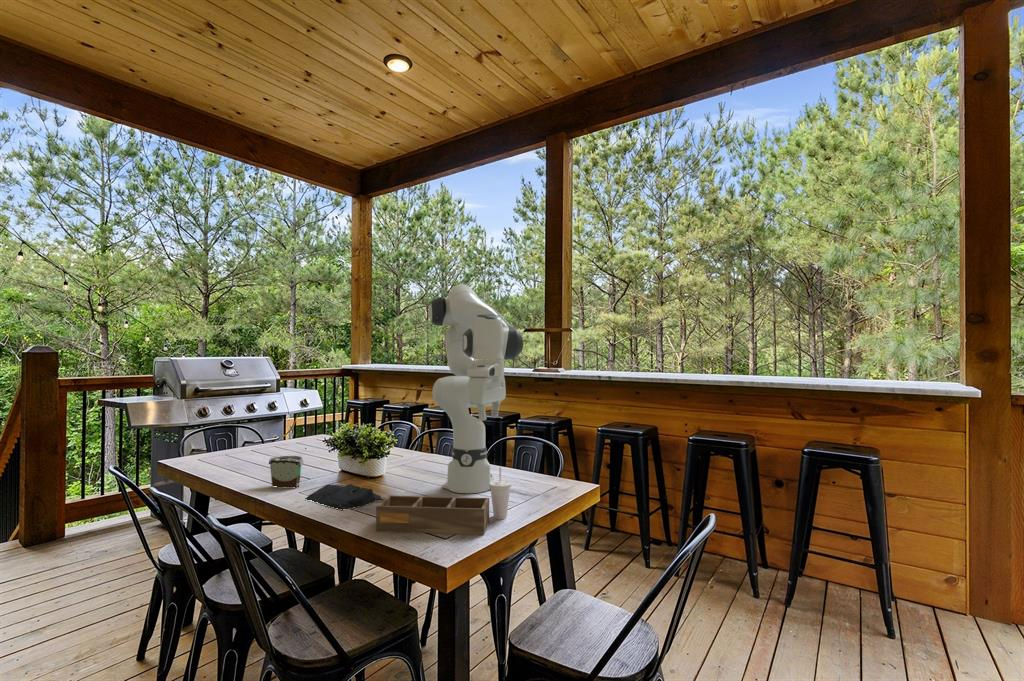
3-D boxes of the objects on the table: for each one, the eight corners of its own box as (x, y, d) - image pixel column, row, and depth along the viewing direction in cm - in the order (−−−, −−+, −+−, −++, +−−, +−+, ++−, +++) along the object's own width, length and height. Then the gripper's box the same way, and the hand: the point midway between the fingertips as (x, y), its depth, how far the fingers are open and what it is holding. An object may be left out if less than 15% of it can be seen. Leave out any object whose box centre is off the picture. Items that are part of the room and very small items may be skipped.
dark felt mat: (340, 490, 172) (340, 476, 172) (385, 500, 160) (385, 485, 160) (300, 501, 159) (300, 486, 159) (345, 513, 147) (346, 497, 147)
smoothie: (511, 513, 145) (511, 465, 146) (511, 520, 139) (511, 470, 139) (489, 513, 145) (489, 465, 146) (488, 521, 139) (488, 470, 139)
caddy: (388, 518, 141) (388, 495, 141) (489, 521, 138) (489, 498, 139) (375, 531, 131) (375, 506, 131) (483, 535, 128) (483, 509, 128)
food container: (310, 484, 178) (310, 456, 178) (300, 488, 172) (300, 459, 172) (279, 482, 180) (279, 454, 180) (268, 487, 174) (268, 458, 174)
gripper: (491, 369, 154) (491, 414, 153) (464, 370, 134) (464, 422, 134) (510, 369, 152) (511, 414, 151) (486, 370, 132) (486, 422, 132)
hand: (488, 418), depth 142 cm, fingers open, 8 cm apart
